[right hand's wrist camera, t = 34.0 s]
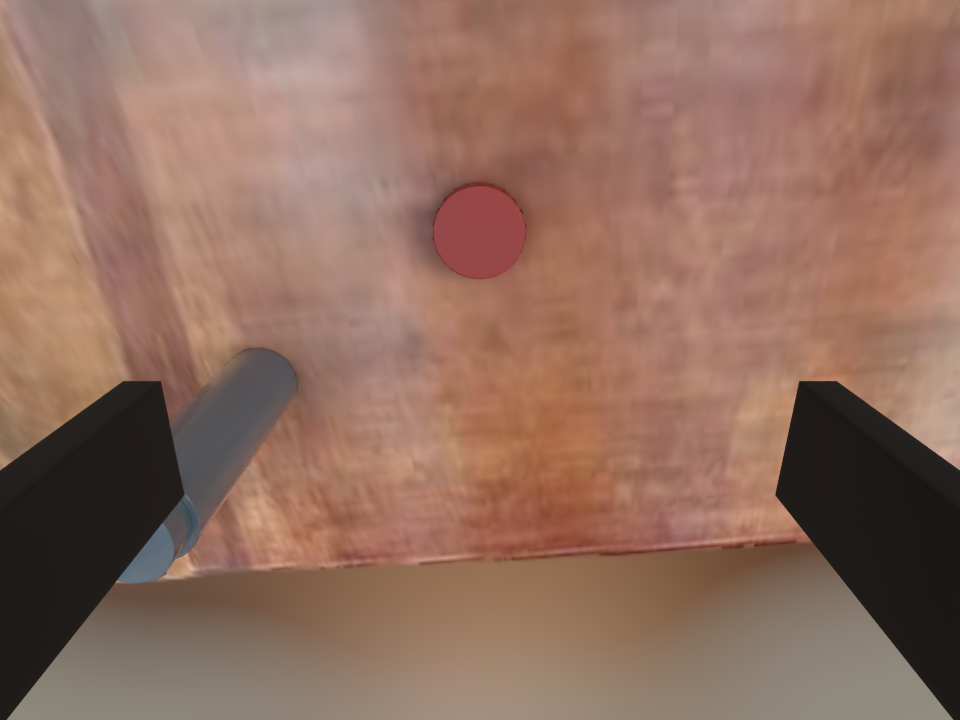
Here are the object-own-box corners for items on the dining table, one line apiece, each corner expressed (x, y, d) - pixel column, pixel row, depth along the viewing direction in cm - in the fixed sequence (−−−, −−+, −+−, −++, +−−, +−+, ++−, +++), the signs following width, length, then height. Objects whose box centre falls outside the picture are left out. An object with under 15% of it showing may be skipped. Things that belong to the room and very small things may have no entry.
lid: (542, 215, 39) (545, 219, 37) (491, 289, 41) (492, 297, 39) (466, 163, 38) (465, 165, 36) (417, 241, 40) (414, 247, 38)
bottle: (212, 368, 43) (41, 527, 26) (269, 335, 42) (129, 477, 25) (256, 423, 45) (120, 605, 28) (311, 392, 44) (206, 561, 27)
